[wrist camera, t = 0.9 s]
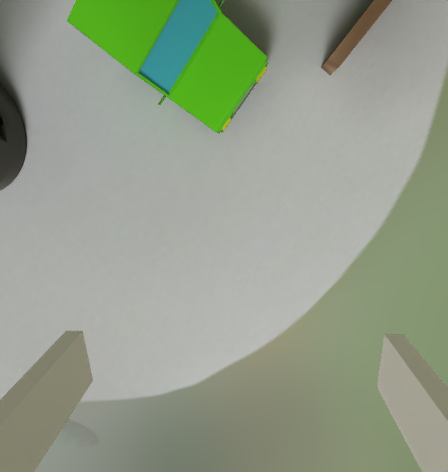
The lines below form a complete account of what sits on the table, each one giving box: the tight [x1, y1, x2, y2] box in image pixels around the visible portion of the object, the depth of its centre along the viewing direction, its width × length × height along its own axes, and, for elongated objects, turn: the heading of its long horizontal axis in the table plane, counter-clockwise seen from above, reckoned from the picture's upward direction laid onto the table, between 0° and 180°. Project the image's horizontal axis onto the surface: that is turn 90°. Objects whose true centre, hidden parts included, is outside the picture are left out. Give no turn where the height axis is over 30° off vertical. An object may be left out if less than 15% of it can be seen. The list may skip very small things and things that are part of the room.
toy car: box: [67, 0, 268, 133], centre depth 26 cm, size 10×13×10 cm
